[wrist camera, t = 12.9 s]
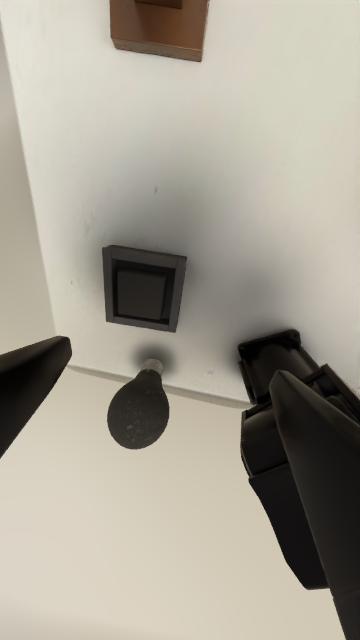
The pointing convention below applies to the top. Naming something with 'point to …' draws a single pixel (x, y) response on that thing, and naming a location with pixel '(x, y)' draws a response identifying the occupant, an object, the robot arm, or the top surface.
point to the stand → (160, 26)
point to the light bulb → (140, 409)
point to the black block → (141, 292)
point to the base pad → (144, 260)
